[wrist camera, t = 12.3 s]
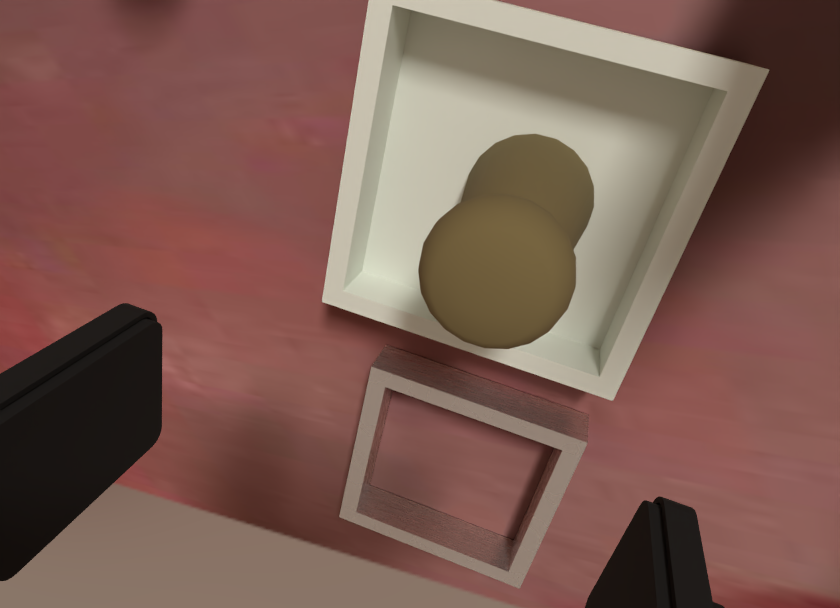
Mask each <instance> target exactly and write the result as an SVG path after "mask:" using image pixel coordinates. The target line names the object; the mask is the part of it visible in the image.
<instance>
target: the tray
mask: <svg viewBox="0 0 840 608" xmlns="http://www.w3.org/2000/svg"><path fill="white" fill-rule="evenodd" d="M768 72H769V69H765V68H762V67H759V66H755V65H752V64H749V63H745V62H741V61H737V60H733V59H729V58H725V57H721V56H717V55H713V54H709V53H705V52H701V51H697V50H693V49H689V48H685V47H681V46H677V45H673V44H669V43H665V42H661V41H657V40H653V39H649V38H645V37H641V36H637V35H633V34H629V33H625V32H621V31H617V30H613V29H609V28H605V27H601V26H597V25H593V24H589V23H585V22H581V21H577V20H573V19H569V18H565V17H561V16H557V15H553V14H549V13H545V12H541V11H537V10H533V9H529V8H525V7H521V6H517V5H513V4H509V3H505V2H501V1H497V0H369V2H368V8H367V15H366V21H365V28H364V34H363V41H362V47H361V53H360V60H359V66H358V73H357V79H356V86H355V92H354V99H353V105H352V111H351V118H350V124H349V131H348V137H347V144H346V150H345V156H344V163H343V169H342V176H341V182H340V189H339V195H338V201H337V208H336V214H335V221H334V227H333V234H332V240H331V247H330V253H329V259H328V266H327V272H326V279H325V285H324V292H323V298H322V302H324V303H327V304H330V305H333V306H336V307H338V308H341V309H344V310H347V311H350V312H353V313H356V314H359V315H362V316H365V317H368V318H371V319H374V320H377V321H380V322H382V323H385V324H388V325H391V326H394V327H397V328H400V329H403V330H406V331H409V332H412V333H415V334H418V335H421V336H424V337H426V338H429V339H432V340H435V341H438V342H441V343H444V344H447V345H450V346H453V347H456V348H459V349H462V350H465V351H468V352H470V353H473V354H476V355H479V356H482V357H485V358H488V359H491V360H494V361H497V362H500V363H503V364H506V365H509V366H512V367H514V368H517V369H520V370H523V371H526V372H529V373H532V374H535V375H538V376H541V377H544V378H547V379H550V380H553V381H556V382H558V383H561V384H564V385H567V386H570V387H573V388H576V389H579V390H582V391H585V392H588V393H591V394H594V395H597V396H600V397H602V398H605V399H608V400H611V401H613V400H614V398H615V395H616V393H617V391H618V389H619V387H620V385H621V383H622V381H623V379H624V376H625V374H626V372H627V370H628V368H629V366H630V364H631V362H632V360H633V357H634V355H635V353H636V351H637V349H638V347H639V345H640V343H641V341H642V338H643V336H644V334H645V332H646V330H647V328H648V326H649V324H650V322H651V319H652V317H653V315H654V313H655V311H656V309H657V307H658V305H659V302H660V300H661V298H662V296H663V294H664V292H665V290H666V288H667V286H668V283H669V281H670V279H671V277H672V275H673V273H674V271H675V269H676V267H677V264H678V262H679V260H680V258H681V256H682V254H683V252H684V250H685V248H686V245H687V243H688V241H689V239H690V237H691V235H692V233H693V231H694V229H695V226H696V224H697V222H698V220H699V218H700V216H701V214H702V212H703V210H704V207H705V205H706V203H707V201H708V199H709V197H710V195H711V193H712V191H713V188H714V186H715V184H716V182H717V180H718V178H719V176H720V174H721V171H722V169H723V167H724V165H725V163H726V161H727V159H728V157H729V155H730V152H731V150H732V148H733V146H734V144H735V142H736V140H737V138H738V136H739V133H740V131H741V129H742V127H743V125H744V123H745V121H746V119H747V117H748V114H749V112H750V110H751V108H752V106H753V104H754V102H755V100H756V98H757V95H758V93H759V91H760V89H761V87H762V85H763V83H764V81H765V79H766V76H767V74H768ZM524 134H539V135H543V136H547V137H551V138H555V139H557V140H559V141H561V142H562V143H564V144H565V145H567V146H568V147H570V148H571V149H573V150H574V151H575V152H576V153H577V154H578V156H579V157H580V158H581V160H582V161H583V162H584V163H585V165H586V166H587V167H588V170H589V173H590V176H591V179H592V182H593V185H594V208H593V211H592V214H591V217H590V220H589V223H588V226H587V228H586V229H585V231H584V233H583V234H582V236H581V238H580V240H579V241H578V243H577V245H576V246H575V248H574V253H575V256H576V288H575V290H574V293H573V296H572V299H571V301H570V304H569V307H568V309H567V311H566V312H565V313H564V314H563V316H562V317H561V318H560V319H559V320H558V322H557V323H556V324H555V325H554V326H553V328H552V329H551V330H550V331H549V332H548V333H546V334H545V335H543V336H541V337H540V338H538V339H536V340H535V341H533V342H532V343H530V344H526V345H522V346H518V347H514V348H510V349H490V348H482V347H479V346H476V345H473V344H470V343H466V342H464V341H462V340H460V339H459V338H457V337H456V336H454V335H453V334H451V333H450V332H448V331H447V330H445V329H444V328H443V327H442V326H441V324H440V323H439V322H438V321H437V320H436V319H435V318H434V316H433V315H432V314H431V313H430V311H429V309H428V307H427V305H426V303H425V301H424V298H423V296H422V294H421V290H420V282H419V273H418V268H419V262H420V257H421V252H422V248H423V243H424V241H425V240H426V238H427V236H428V235H429V233H430V231H431V230H432V228H433V226H434V225H435V223H436V222H437V221H438V220H439V219H440V218H441V217H442V216H443V215H445V214H446V213H447V212H448V211H449V210H451V209H452V208H453V207H454V206H456V205H457V204H458V203H460V202H461V199H462V196H463V192H464V189H465V185H466V182H467V179H468V175H469V173H470V171H471V169H472V168H473V166H474V165H475V163H476V161H477V160H478V158H479V156H481V155H482V154H483V153H484V152H485V151H486V150H488V149H489V148H490V147H491V146H492V145H493V144H495V143H497V142H499V141H501V140H504V139H506V138H509V137H511V136H514V135H524Z"/></svg>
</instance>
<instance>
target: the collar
mask: <svg viewBox="0 0 840 608" xmlns="http://www.w3.org/2000/svg"><path fill="white" fill-rule="evenodd" d="M393 390H395V391H397V392H400V393H403V394H406V395H409V396H411V397H414V398H417V399H420V400H423V401H425V402H428V403H431V404H434V405H437V406H439V407H442V408H445V409H448V410H451V411H453V412H456V413H459V414H462V415H465V416H467V417H470V418H473V419H476V420H479V421H481V422H484V423H487V424H490V425H493V426H495V427H498V428H501V429H504V430H507V431H509V432H512V433H515V434H518V435H521V436H523V437H526V438H529V439H532V440H535V441H537V442H540V443H543V444H546V445H549V446H551V447H554V449H553V452H552V454H551V456H550V458H549V461H548V463H547V465H546V468H545V470H544V472H543V475H542V477H541V479H540V482H539V484H538V486H537V488H536V491H535V493H534V495H533V498H532V500H531V502H530V505H529V507H528V509H527V512H526V514H525V516H524V518H523V521H522V523H521V525H520V528H519V530H518V532H517V535H516V537H515V539H514V540H512V539H509V538H506V537H504V536H501V535H499V534H496V533H493V532H491V531H488V530H486V529H483V528H480V527H478V526H475V525H473V524H470V523H467V522H465V521H462V520H460V519H457V518H454V517H452V516H449V515H447V514H444V513H441V512H439V511H436V510H434V509H431V508H428V507H426V506H423V505H421V504H418V503H415V502H413V501H410V500H407V499H405V498H402V497H400V496H397V495H394V494H392V493H389V492H387V491H384V490H381V489H379V488H376V487H374V486H371V485H370V482H371V477H372V473H373V469H374V465H375V461H376V457H377V453H378V449H379V444H380V440H381V436H382V432H383V428H384V424H385V420H386V415H387V411H388V407H389V403H390V399H391V395H392V391H393ZM588 422H589V415H588V414H585V413H582V412H579V411H576V410H573V409H571V408H568V407H565V406H562V405H559V404H556V403H553V402H550V401H547V400H545V399H542V398H539V397H536V396H533V395H530V394H527V393H524V392H522V391H519V390H516V389H513V388H510V387H507V386H504V385H501V384H498V383H496V382H493V381H490V380H487V379H484V378H481V377H478V376H475V375H472V374H470V373H467V372H464V371H461V370H458V369H455V368H452V367H449V366H446V365H444V364H441V363H438V362H435V361H432V360H429V359H426V358H423V357H420V356H418V355H415V354H412V353H409V352H406V351H403V350H400V349H397V348H394V347H392V346H389V345H386V346H385V347H384V349H383V350H382V352H381V353H380V355H379V356H378V358H377V359H376V361H375V362H374V364H373V365H372V366H371V371H370V376H369V380H368V385H367V390H366V394H365V399H364V404H363V408H362V413H361V418H360V422H359V427H358V431H357V436H356V441H355V445H354V450H353V455H352V459H351V464H350V469H349V473H348V478H347V483H346V487H345V492H344V497H343V501H342V506H341V510H340V515H339V517H340V518H343V519H345V520H348V521H350V522H353V523H355V524H358V525H360V526H363V527H365V528H368V529H370V530H373V531H375V532H378V533H381V534H383V535H386V536H388V537H391V538H393V539H396V540H398V541H401V542H403V543H406V544H408V545H411V546H413V547H416V548H418V549H421V550H423V551H426V552H429V553H431V554H434V555H436V556H439V557H441V558H444V559H446V560H449V561H451V562H454V563H456V564H459V565H461V566H464V567H466V568H469V569H471V570H474V571H476V572H479V573H482V574H484V575H487V576H489V577H492V578H494V579H497V580H499V581H502V582H504V583H507V584H509V585H512V586H514V587H517V588H519V589H520V587H521V584H522V582H523V580H524V578H525V576H526V574H527V572H528V569H529V567H530V565H531V563H532V561H533V559H534V557H535V555H536V552H537V550H538V548H539V546H540V544H541V542H542V540H543V537H544V535H545V533H546V531H547V529H548V527H549V525H550V522H551V520H552V518H553V516H554V514H555V512H556V510H557V507H558V505H559V503H560V501H561V499H562V497H563V495H564V492H565V490H566V488H567V486H568V484H569V482H570V480H571V477H572V475H573V473H574V471H575V469H576V467H577V465H578V463H579V460H580V458H581V456H582V454H583V452H584V450H585V448H586V445H587V443H588Z"/></svg>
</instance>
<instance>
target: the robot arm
mask: <svg viewBox="0 0 840 608" xmlns="http://www.w3.org/2000/svg"><path fill="white" fill-rule="evenodd" d="M161 428H162V326H161V324H159V323H158V322H157V318H156V316H155V314H154V313H152V312H150V311H147V310H144V309H141V308H139V307H136V306H133V305H130V304H128V303H123V304H120V305H118V306H116V307H114V308H113V309H111V310H109V311H107V312H106V313H104V314H102V315H101V316H99V317H97V318H95V319H94V320H92V321H90V322H89V323H87V324H85V325H83V326H82V327H80V328H78V329H77V330H75V331H73V332H71V333H70V334H68V335H66V336H64V337H63V338H61V339H59V340H58V341H56V342H54V343H52V344H51V345H49V346H47V347H46V348H44V349H42V350H40V351H39V352H37V353H35V354H34V355H32V356H30V357H28V358H27V359H25V360H23V361H22V362H20V363H18V364H16V365H15V366H13V367H11V368H9V369H8V370H6V371H4V372H3V373H1V374H0V581H6V580H8V579H10V578H12V577H13V576H14V575H15V574H17V572H19V571H20V570H21V569H22V568H23V567H24V566H25V565H26V564H27V563H28V562H29V561H30V560H32V559H33V558H34V557H35V556H36V555H37V554H38V553H39V552H40V551H41V550H42V549H43V548H44V547H45V546H46V545H47V544H48V543H50V542H51V541H52V540H53V539H54V538H55V537H56V536H57V535H58V534H59V533H60V532H61V531H62V530H63V529H65V528H66V527H67V526H68V525H69V524H70V523H71V522H72V521H73V520H74V519H75V518H76V517H77V516H78V515H79V514H81V513H82V512H83V511H84V510H85V509H86V508H87V507H88V506H89V505H90V504H91V503H92V502H93V501H94V500H96V499H97V498H98V497H99V496H100V495H101V494H102V493H103V492H104V491H105V490H106V489H107V488H108V487H110V486H111V485H112V484H113V483H114V482H115V481H116V480H117V479H118V478H119V477H120V476H121V475H122V474H123V473H124V472H126V471H127V470H128V469H129V468H130V467H131V466H132V465H133V464H134V463H135V462H136V461H137V460H138V459H139V458H140V457H142V456H143V455H144V454H145V453H146V452H147V451H148V450H149V449H150V448H151V447H152V446H153V445H154V444H155V443H156V441H157V440H158V438H159V435H160V433H161ZM585 608H724V607H723V606H722V605H720V604H717V603H714V602H713V601H712V596H711V590H710V585H709V580H708V574H707V569H706V563H705V558H704V552H703V547H702V542H701V536H700V531H699V525H698V520H697V515H696V512H695V510H694V509H693V508H691V507H688V506H685V505H682V504H680V503H677V502H674V501H671V500H669V499H666V498H663V497H657V498H656V499H655V500H654V502H653V503H652V502H649V501H645V500H644V501H643V502H642V503H641V505H640V506H639V508H638V510H637V512H636V513H635V515H634V517H633V519H632V521H631V522H630V524H629V526H628V528H627V529H626V531H625V533H624V535H623V537H622V538H621V540H620V542H619V544H618V545H617V547H616V549H615V551H614V553H613V554H612V556H611V558H610V560H609V561H608V563H607V565H606V567H605V569H604V570H603V572H602V574H601V576H600V577H599V579H598V581H597V583H596V585H595V586H594V588H593V590H592V592H591V593H590V595H589V597H588V600H587V603H586V606H585Z"/></svg>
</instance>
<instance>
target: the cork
mask: <svg viewBox="0 0 840 608" xmlns="http://www.w3.org/2000/svg"><path fill="white" fill-rule="evenodd" d="M593 208H594V185H593V182H592V179H591V176H590V173H589V170H588V167H587V166H586V165H585V163H584V162H583V161H582V160H581V158H580V157H579V156H578V154H577V153H576V152H575V151H574V150H573V149H571V148H570V147H568V146H567V145H565V144H564V143H562V142H561V141H559V140H557V139H555V138H551V137H547V136H543V135H539V134H524V135H514V136H511V137H509V138H506V139H504V140H501V141H499V142H497V143H495V144H493V145H492V146H491V147H490V148H489V149H488V150H486V151H485V152H484V153H483V154H482V155H481V156H479V158H478V160H477V161H476V163H475V165H474V166H473V168H472V169H471V171H470V173H469V175H468V179H467V182H466V185H465V189H464V192H463V196H462V199H461V202H460V203H458V204H457V205H456V206H454V207H453V208H452V209H451V210H449V211H448V212H447V213H446V214H445V215H443V216H442V217H441V218H440V219H439V220H438V221H437V222H436V223H435V225H434V226H433V228H432V230H431V231H430V233H429V235H428V236H427V238H426V240H425V241H424V243H423V248H422V252H421V257H420V262H419V268H418V273H419V282H420V290H421V294H422V296H423V298H424V301H425V303H426V305H427V307H428V309H429V311H430V313H431V314H432V315H433V316H434V318H435V319H436V320H437V321H438V322H439V323H440V324H441V326H442V327H443V328H444V329H445V330H447V331H448V332H450V333H451V334H453V335H454V336H456V337H457V338H459V339H460V340H462V341H464V342H466V343H470V344H473V345H476V346H479V347H482V348H490V349H510V348H514V347H518V346H522V345H526V344H530V343H532V342H533V341H535V340H536V339H538V338H540V337H541V336H543V335H545V334H546V333H548V332H549V331H550V330H551V329H552V328H553V326H554V325H555V324H556V323H557V322H558V320H559V319H560V318H561V317H562V316H563V314H564V313H565V312H566V311H567V309H568V307H569V304H570V301H571V299H572V296H573V293H574V290H575V288H576V256H575V253H574V248H575V246H576V245H577V243H578V241H579V240H580V238H581V236H582V234H583V233H584V231H585V229H586V228H587V226H588V223H589V220H590V217H591V214H592V211H593Z"/></svg>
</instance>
